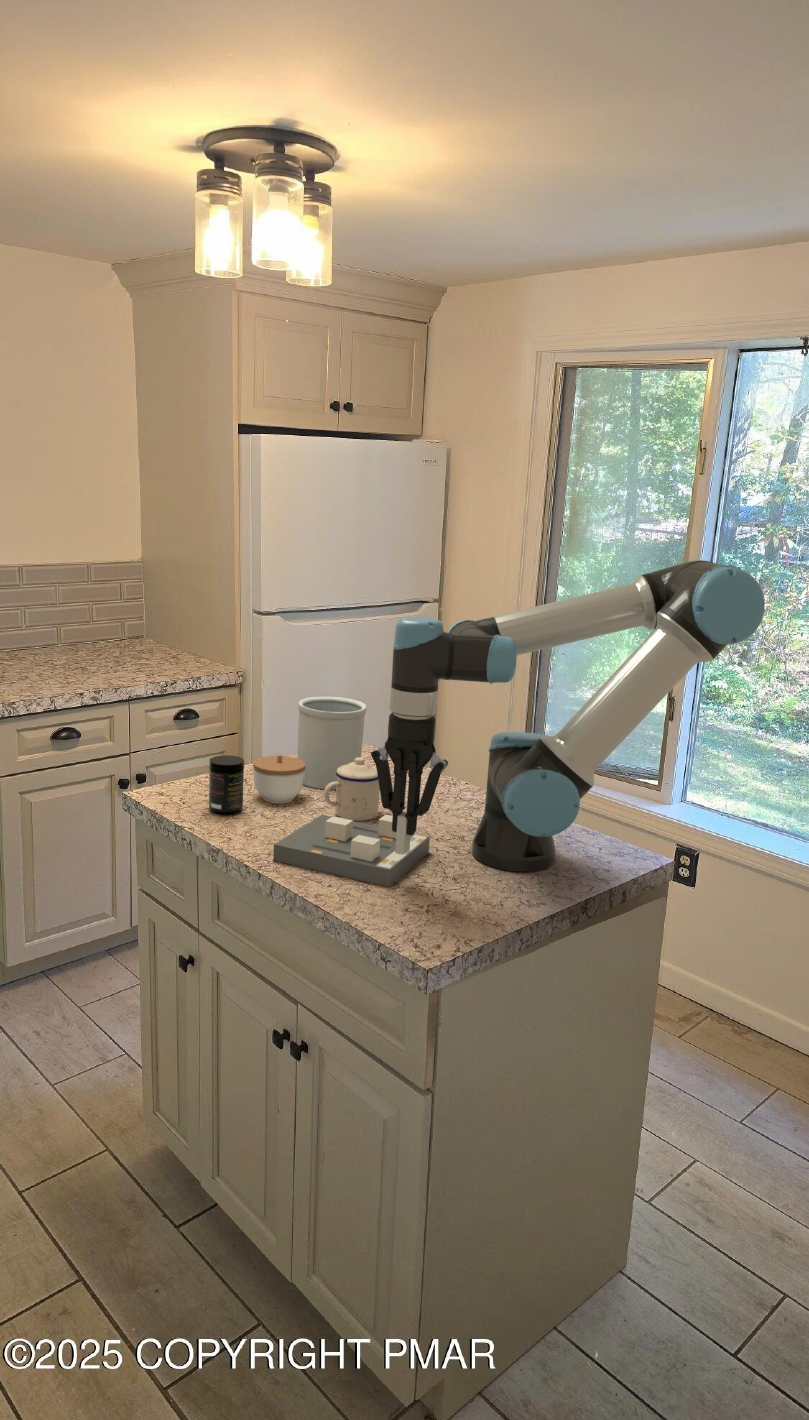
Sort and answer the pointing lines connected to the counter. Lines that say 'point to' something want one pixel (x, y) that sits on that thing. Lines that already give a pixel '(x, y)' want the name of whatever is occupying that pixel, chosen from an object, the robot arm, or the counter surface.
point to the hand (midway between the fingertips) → (402, 851)
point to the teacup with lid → (355, 791)
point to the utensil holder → (328, 737)
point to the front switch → (365, 848)
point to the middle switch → (338, 828)
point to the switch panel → (348, 853)
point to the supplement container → (226, 784)
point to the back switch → (386, 827)
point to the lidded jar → (279, 778)
